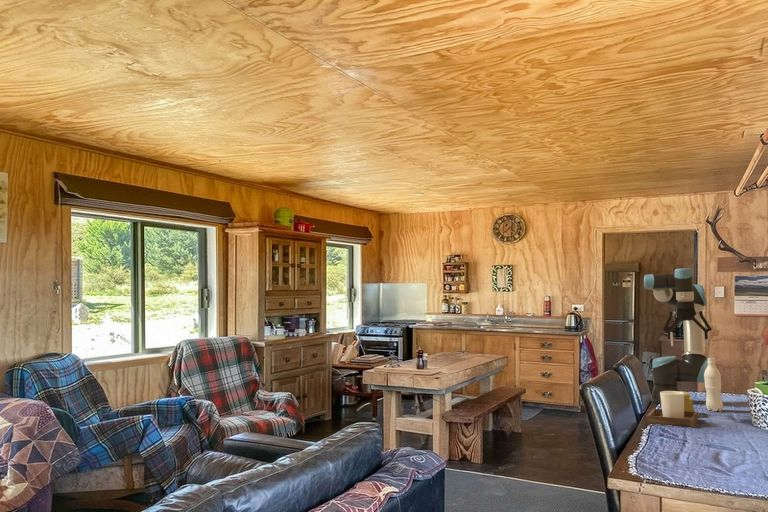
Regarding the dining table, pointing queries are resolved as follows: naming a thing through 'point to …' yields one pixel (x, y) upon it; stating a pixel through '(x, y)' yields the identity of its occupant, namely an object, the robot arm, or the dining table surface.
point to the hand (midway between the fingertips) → (688, 346)
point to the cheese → (688, 402)
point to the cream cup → (672, 404)
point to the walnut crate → (672, 419)
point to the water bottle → (713, 386)
